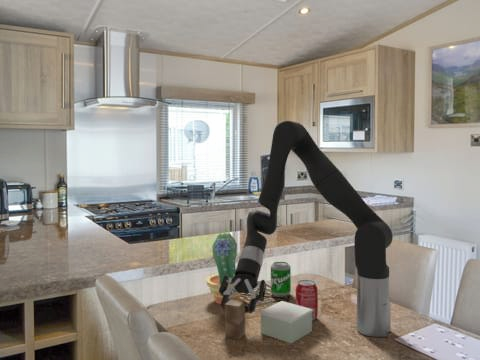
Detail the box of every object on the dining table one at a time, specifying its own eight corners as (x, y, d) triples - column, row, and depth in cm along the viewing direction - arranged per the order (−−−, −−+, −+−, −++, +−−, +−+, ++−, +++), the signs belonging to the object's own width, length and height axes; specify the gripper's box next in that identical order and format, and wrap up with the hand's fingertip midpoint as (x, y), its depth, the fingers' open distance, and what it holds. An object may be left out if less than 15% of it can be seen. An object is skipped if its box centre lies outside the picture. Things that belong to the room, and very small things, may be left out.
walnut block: (245, 333, 129) (244, 301, 128) (239, 339, 125) (239, 306, 124) (231, 331, 131) (230, 299, 130) (225, 337, 126) (224, 304, 126)
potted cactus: (197, 301, 157) (196, 234, 156) (225, 290, 169) (224, 228, 167) (228, 311, 147) (227, 239, 146) (256, 299, 159) (255, 232, 157)
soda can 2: (304, 312, 145) (304, 277, 144) (322, 318, 140) (322, 282, 139) (291, 318, 140) (291, 282, 140) (309, 324, 135) (309, 287, 135)
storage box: (312, 331, 130) (312, 309, 130) (291, 344, 122) (291, 320, 121) (281, 322, 138) (281, 300, 137) (259, 333, 129) (259, 311, 129)
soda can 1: (271, 290, 168) (271, 260, 168) (290, 291, 167) (290, 261, 167) (270, 297, 161) (270, 265, 160) (290, 298, 160) (290, 266, 159)
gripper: (226, 255, 139) (211, 301, 129) (268, 259, 133) (255, 307, 124) (233, 267, 144) (218, 312, 134) (273, 271, 139) (261, 319, 129)
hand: (236, 310), depth 129 cm, fingers open, 8 cm apart
